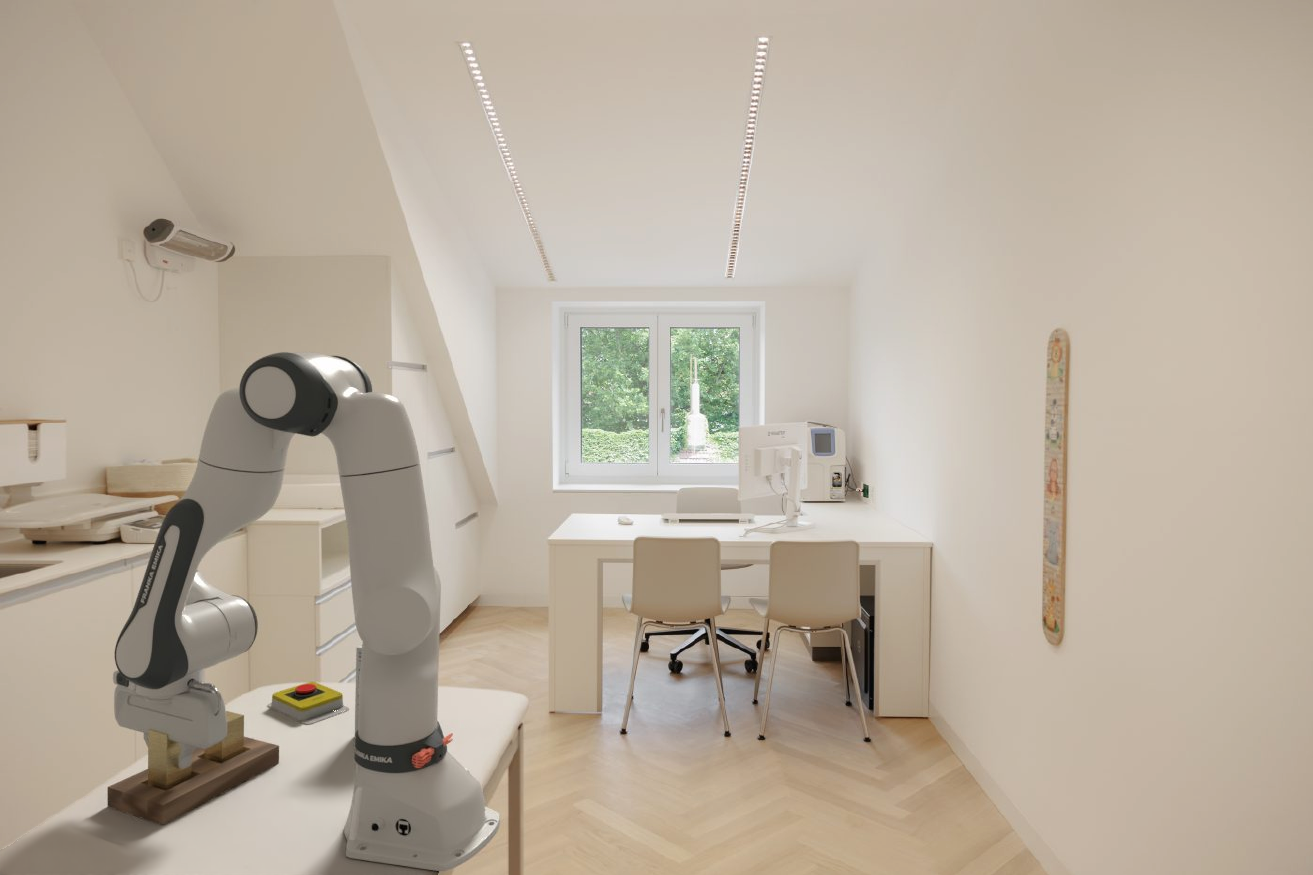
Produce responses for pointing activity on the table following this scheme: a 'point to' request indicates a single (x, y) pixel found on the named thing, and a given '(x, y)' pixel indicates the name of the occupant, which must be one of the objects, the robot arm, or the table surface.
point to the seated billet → (228, 740)
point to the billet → (164, 762)
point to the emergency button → (308, 702)
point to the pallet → (191, 783)
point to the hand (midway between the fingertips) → (170, 763)
